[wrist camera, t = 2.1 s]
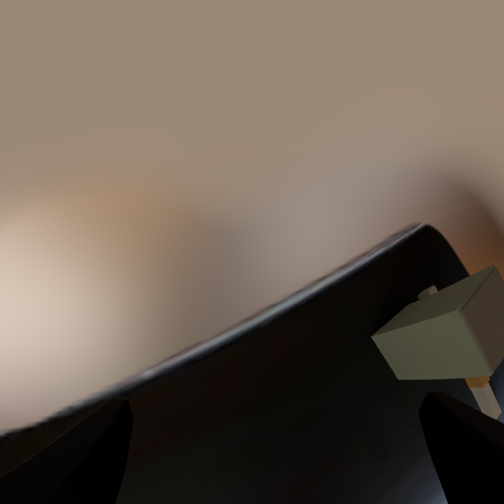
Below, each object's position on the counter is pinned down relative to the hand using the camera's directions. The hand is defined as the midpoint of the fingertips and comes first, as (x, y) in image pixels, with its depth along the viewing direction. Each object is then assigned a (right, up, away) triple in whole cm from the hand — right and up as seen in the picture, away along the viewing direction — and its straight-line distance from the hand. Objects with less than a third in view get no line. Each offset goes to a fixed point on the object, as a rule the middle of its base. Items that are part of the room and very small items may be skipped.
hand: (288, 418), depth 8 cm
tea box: (+13, -4, +18) cm, 22 cm away
